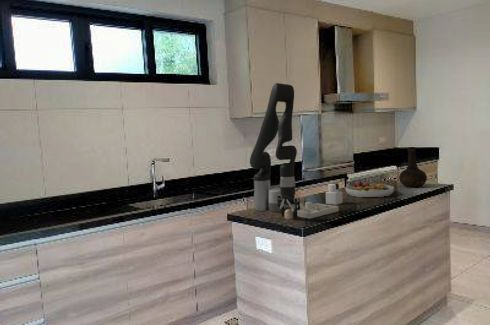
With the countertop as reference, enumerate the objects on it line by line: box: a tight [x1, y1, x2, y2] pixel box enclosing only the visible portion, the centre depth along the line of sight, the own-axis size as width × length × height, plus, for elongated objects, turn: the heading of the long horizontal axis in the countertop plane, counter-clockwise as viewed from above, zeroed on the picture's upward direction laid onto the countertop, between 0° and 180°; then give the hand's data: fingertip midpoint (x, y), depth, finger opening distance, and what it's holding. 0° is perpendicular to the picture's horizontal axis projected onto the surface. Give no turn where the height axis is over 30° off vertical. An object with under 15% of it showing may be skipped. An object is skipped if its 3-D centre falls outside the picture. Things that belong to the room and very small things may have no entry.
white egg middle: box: [304, 201, 314, 209], centre depth 207 cm, size 4×4×6 cm
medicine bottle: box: [325, 182, 343, 206], centre depth 228 cm, size 7×7×12 cm
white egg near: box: [297, 203, 304, 211], centre depth 203 cm, size 4×4×6 cm
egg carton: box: [290, 202, 340, 219], centre depth 204 cm, size 15×22×3 cm
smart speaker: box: [268, 185, 287, 213], centre depth 214 cm, size 10×9×14 cm
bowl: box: [345, 180, 395, 198], centre depth 252 cm, size 30×30×8 cm
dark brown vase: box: [398, 146, 428, 188], centre depth 271 cm, size 18×18×28 cm
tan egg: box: [284, 208, 294, 220], centre depth 195 cm, size 4×4×6 cm
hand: (289, 217), depth 195 cm, fingers open, 8 cm apart
